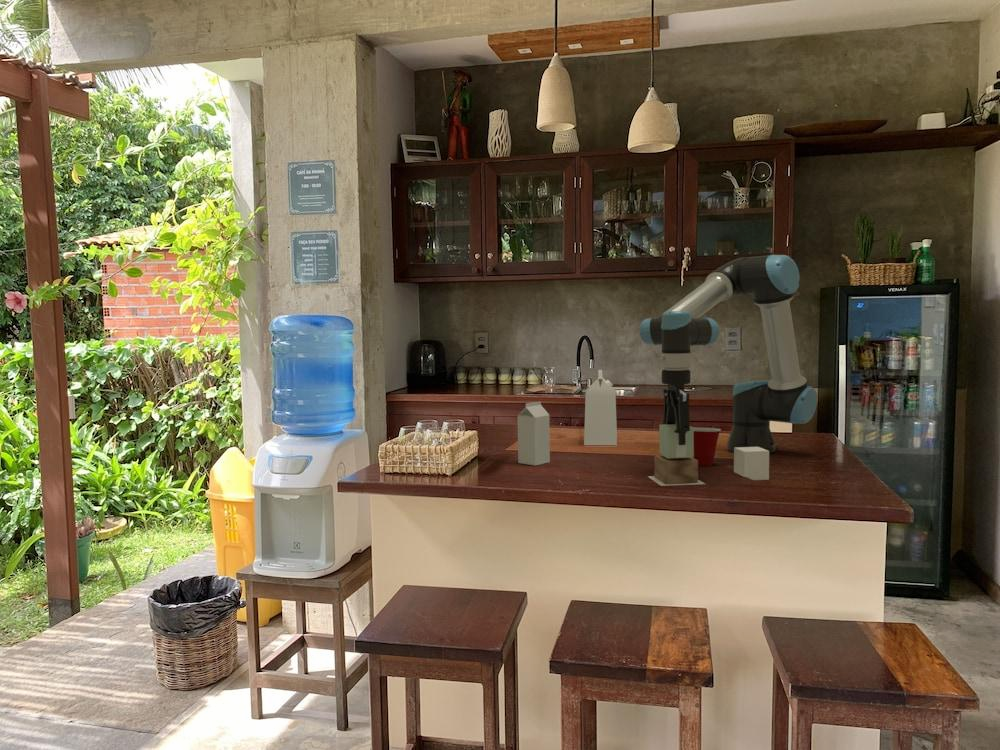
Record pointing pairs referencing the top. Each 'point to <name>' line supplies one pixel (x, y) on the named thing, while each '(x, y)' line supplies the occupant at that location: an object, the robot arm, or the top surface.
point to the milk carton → (533, 435)
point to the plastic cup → (705, 445)
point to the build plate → (672, 484)
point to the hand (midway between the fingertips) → (675, 454)
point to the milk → (600, 413)
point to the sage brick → (669, 441)
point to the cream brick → (752, 462)
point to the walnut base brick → (675, 470)
